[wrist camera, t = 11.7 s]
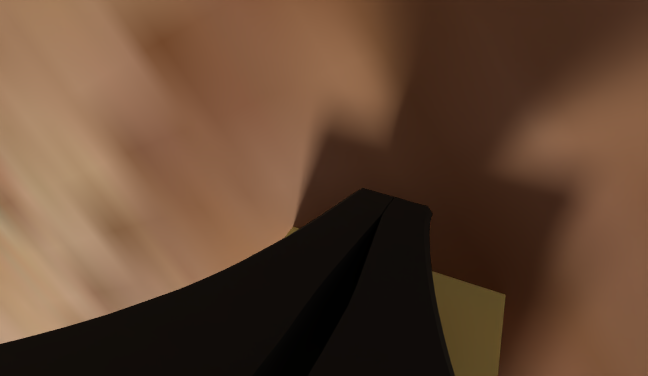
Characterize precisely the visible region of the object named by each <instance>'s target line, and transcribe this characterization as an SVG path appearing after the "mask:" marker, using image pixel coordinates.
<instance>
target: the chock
mask: <svg viewBox="0 0 648 376" xmlns="http://www.w3.org/2000/svg"><path fill="white" fill-rule="evenodd" d="M298 229H299V228H296V227H292V229H291V230H290V231H289V233H288V234H287V235H286V236H285V237H287V236H289V235H290V234H292V233H293V232H295V231H297V230H298ZM432 275H433V282H434V289H435V295H436V301H437V306H438V311H439V315H440V320H441V324H442V329H443V333H444V337H445V341H446V345H447V349H448V353H449V356H450V360H451V364H452V367H453V370H454V373H455V376H498V370H499V359H500V349H501V338H502V328H503V317H504V307H505V296H506V295H505V294H502V293H499V292H496V291H492V290H489V289H486V288H483V287H480V286H477V285H474V284H471V283H467V282H464V281H461V280H458V279H455V278H452V277H449V276H446V275H443V274H439V273H436V272H433V271H432Z"/></svg>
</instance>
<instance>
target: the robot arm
mask: <svg viewBox="0 0 648 376" xmlns="http://www.w3.org/2000/svg"><path fill="white" fill-rule="evenodd" d="M431 217H432V212H431V211H430V209H429V207H428V206H425V205H421V204H418V203H414V202H410V201H407V200H403V199H400V198H396V197H395V198H394V197H393V196H389V195H386V194H382V193H379V192H375V191H372V190H368V189H365V188H362V189H360V190H358V191H356V192H355V193H353V194H352V195H350V196H349V197H347V198H346V199H344V200H343V201H342V202H340V203H339V204H337V205H336V206H334V207H333V208H331V209H330V210H328V211H327V212H325V213H324V214H322V215H321V216H319V217H318V218H316V219H315V220H313V221H311V222H310V223H308V224H306V225H305V226H303V227H302V228H300V229H298V230H297V231H295V232H293V233H292V234H290V235H289V236H287V237H285V238H283V239H282V240H280V241H278V242H276V243H275V244H273V245H271V246H269V247H267V248H265V249H263V250H262V251H260V252H258V253H256V254H254V255H252V256H251V257H249V258H247V259H245V260H243V261H241V262H239V263H237V264H235V265H233V266H231V267H229V268H227V269H225V270H223V271H220V272H218V273H216V274H214V275H212V276H209V277H207V278H205V279H203V280H200V281H198V282H196V283H193V284H191V285H189V286H186V287H184V288H181V289H178V290H176V291H173V292H170V293H168V294H165V295H162V296H159V297H156V298H153V299H151V300H148V301H145V302H142V303H139V304H136V305H134V306H131V307H128V308H125V309H122V310H119V311H117V312H114V313H111V314H108V315H104V316H101V317H98V318H94V319H91V320H88V321H84V322H81V323H78V324H74V325H71V326H67V327H64V328H60V329H57V330H53V331H49V332H45V333H42V334H38V335H34V336H30V337H27V338H23V339H19V340H15V341H11V342H7V343H3V344H0V376H455V373H454V370H453V367H452V364H451V360H450V356H449V353H448V349H447V345H446V341H445V337H444V333H443V329H442V324H441V320H440V315H439V311H438V306H437V301H436V295H435V289H434V282H433V275H432V268H431V259H430V242H429V231H430V221H431Z"/></svg>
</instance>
